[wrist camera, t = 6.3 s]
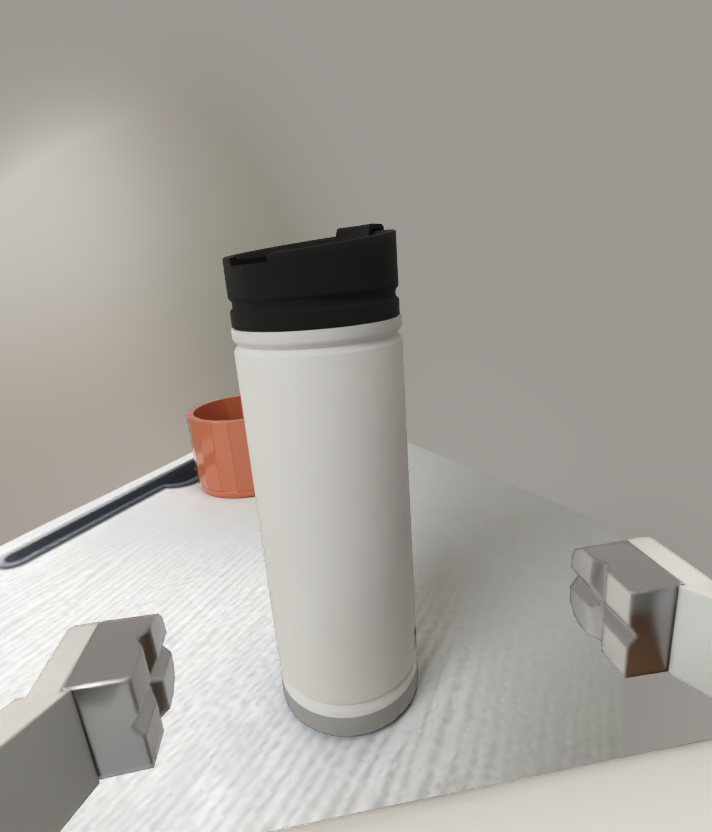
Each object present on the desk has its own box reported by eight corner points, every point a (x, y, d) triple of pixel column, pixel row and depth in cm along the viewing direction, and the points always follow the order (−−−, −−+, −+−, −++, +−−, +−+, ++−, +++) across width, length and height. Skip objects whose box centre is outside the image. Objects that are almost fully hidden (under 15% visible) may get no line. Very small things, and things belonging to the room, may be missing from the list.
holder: (284, 449, 54) (276, 387, 52) (317, 480, 45) (309, 407, 43) (192, 470, 50) (180, 404, 48) (209, 508, 41) (195, 430, 39)
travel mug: (446, 662, 23) (436, 216, 18) (360, 770, 19) (306, 209, 13) (348, 612, 27) (313, 234, 22) (256, 691, 23) (180, 234, 17)
